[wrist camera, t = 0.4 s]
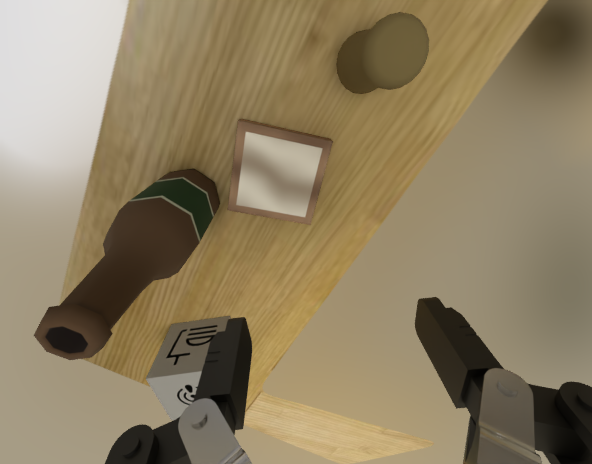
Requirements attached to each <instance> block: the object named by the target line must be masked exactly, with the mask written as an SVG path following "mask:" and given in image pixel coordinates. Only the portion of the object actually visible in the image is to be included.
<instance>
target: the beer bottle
mask: <svg viewBox="0 0 592 464" xmlns="http://www.w3.org/2000/svg"><path fill="white" fill-rule="evenodd" d="M219 204H220V202H219V199H218V195H217V191H216V187H215V184H214V182H213V181H211V180H210V179H208V178H207V177H205V176H204V175H202V174H201V173H199V172H198V171H196V170H195V169H189V170H182V171H174V172H170V173H168V174H166V175H165V176H163V177H162V178H160V179H159V180H158V181H156V182H155V183H153V184H152V185H151V186H149V187H148V188H147V189H145V190H144V191H142V192H141V193H140V194H138V195H137V196H136V197H134V198H133V199H131V200H130V201H129V202H128V203H127V204H126V205H125V206H123V207H122V208H121V209H120V210H119V212H118V214H117V216H116V218H115V220H114V221H113V223H112V225H111V227H110V229H109V231H108V233H107V234H106V237H105V240H104V243H103V246H104V251H105V256H104V257H103V258H102V259H101V260H100V262H99V263H98V264H97V265H96V266H95V267H94V268H93V269H92V270H91V271H90V273H89V274H88V275H87V276H86V277H85V278H84V279H83V280H82V281H81V283H80V284H79V285H78V286H77V287H76V288H75V289H74V290H73V291H72V292H71V294H70V295H69V296H68V297H67V298H66V299H65V300H64V301H63V302H62V303H61V305H60V306H54V307H49V308H48V310H47V312H46V313H45V315H44V317H43V319H42V320H41V322H40V324H39V326H38V328H37V330H36V332H35V334H34V336H35V338H36V339H37V340H38V341H39V343H40V344H41V345H42V346H43V348H44V349H45V350H46V351H47V352H49V353H52V354H55V355H58V356H60V357H63V358H66V359H68V360H75V359H83V358H90V357H92V356H94V355H95V354H96V353H97V352H98V351H100V350H101V349H102V348H103V347H104V346H105V344H106V342H107V341H108V339H109V338H110V336H111V335H112V332H111V328H112V327H113V326H114V325H115V323H116V322H117V321H118V320H119V319H120V317H121V316H122V315H123V314H124V313H125V311H126V310H127V309H128V308H129V306H130V305H131V304H132V303H133V302H134V300H135V299H136V298H137V297H138V295H139V294H140V293H141V292H142V291H143V290H144V289H145V288H146V287H147V286H148V285H149V284H150V283H151V282H152V281H154V280H159V279H165V278H169V277H171V276H172V275H174V274H176V273H178V272H179V270H180V269H181V268H182V266H183V265H184V264H185V262H186V261H187V259H188V258H189V257H190V255H191V254H192V252H193V251H194V249H195V248H196V247H197V245H198V244H199V242H200V240H201V239H202V237H203V235H204V233H205V231H206V229H207V228H208V226H209V224H210V222H211V220H212V218H213V217H214V215H215V213H216V211H217V209H218V207H219Z"/></svg>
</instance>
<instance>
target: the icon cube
mask: <svg viewBox="0 0 592 464" xmlns="http://www.w3.org/2000/svg"><path fill="white" fill-rule="evenodd" d="M228 319H231V318H230V316H225V317H218V318H211V319H204V320H197V321H190V322H183V323H176V324H171V327H170V329H169V331H168V333H167V335H166V337H165V339H164V341H163V344H162V346H161V348H160V350H159V352H158V354H157V356H156V358H155V360H154V363H153V365H152V367H151V369H150V371H149V373H148V375H147V377H146V380H147V381H148V383H149V385H150V386H151V388H152V389H153V391H154V393H155V394H156V396H157V398H158V399H159V401H160V403H161V404H162V406H163V407H164V409H165V411H166V412H167V414H168V415H169V417H170V419H171V420H176V419H177V418H179V417H180V416H181V415H182V413H183V412H184V410H185V409H186V408H187V407H188V406H189V405H190V404H191V403H192V402H193V400H194V397H195V394H196V390H197V387H198V383H199V380H200V376H201V373H202V369H203V365H204V364H205V358H206V355H207V351H208V348H209V344H210V341H211V340H212V339H213V337H214V336H215V335H216V333H217V332H221V331H225V329H226V325H227V321H228Z"/></svg>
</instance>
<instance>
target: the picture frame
mask: <svg viewBox="0 0 592 464" xmlns="http://www.w3.org/2000/svg"><path fill="white" fill-rule="evenodd" d="M332 143H333V141H332V140H331V139H328V138H324V137H320V136H315V135H311V134H306V133H302V132H297V131H293V130H288V129H284V128H280V127H275V126H271V125H266V124H262V123H257V122H253V121H249V120H244V119H239V120H238V126H237V135H236V143H235V152H234V161H233V169H232V178H231V186H230V195H229V204H228V210H230V211H236V212H241V213H247V214H252V215H258V216H263V217H269V218H275V219H280V220H286V221H291V222H297V223H303V224H308V225H311V221H312V218H313V214H314V210H315V206H316V203H317V199H318V195H319V191H320V188H321V184H322V180H323V176H324V173H325V169H326V165H327V161H328V158H329V154H330V150H331V146H332Z"/></svg>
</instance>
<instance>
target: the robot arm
mask: <svg viewBox="0 0 592 464" xmlns="http://www.w3.org/2000/svg"><path fill="white" fill-rule="evenodd" d="M415 328H416V332H417V335H418V337H419V339H420V341H421V343H422V345H423V347H424V349H425V350H426V352H427V354H428V356H429V358H430V360H431V362H432V364H433V365H434V367H435V369H436V371H437V373H438V375H439V377H440V378H441V381H442V382H443V384H444V386H445V388H446V390H447V392H448V394H449V396H450V397H451V399H452V401H453V403H454V405H455V407H456V408H465V407H467V409H468V411H469V413H470V414H471V416H470V420H469V426H468V433H467V440H466V446H465V453H464V460H463V464H542V461H541V457H540V456H539V455H538V454H536V452H535V450H538V451H542V452H543V453H544V454H545V455H546V457H547V458H548V460H549V462H550V463H551V464H592V387H590V386H588V385H585V384H582V383H578V382H566V383H564V384H562V386H561V387H560V389H559V390H556V389H551V388H546V387H540V386H535V385H531V384H528V383H526V382H525V381H524V380H523V379H522V378H521V377H519V376H518V375H516V374H514V373H513V372H511V371H508V370H505V369H504V368H503V367H502V366H501V365H500V363H499V362H498V361H497V360H496V358H495V357H494V356H493V354H492V353H491V352H490V351H489V349H488V348H487V347H486V345H485V344H484V343H483V342H482V340H481V339H480V338H479V336H477V335H476V332H475V331H474V330H473V329H472V328H471V327H470V325H469V323H468V322H467V321H466V320H465V318H464V317H463V316H462V315H461V314H460V313H458V312H457V311H456V310H454V309H453V308H445V307H444V305H443V304H442V302H441V301H440V300H439V299H438V298H437V297H432V298H423V299H419V300H418V305H417V312H416V319H415ZM251 357H252V341H251V337H250V333H249V329H248V326H247V322H246V319H245V317H241V318H232V319H228V321H227V325H226V329H225V331H221V332H217V333H216V335H215V336H214V337H213V339H212V340H211V341H210V344H209V348H208V351H207V355H206V358H205V364H204V365H203V369H202V373H201V376H200V380H199V383H198V387H197V390H196V394H195V397H194V400H193V402H192V403H191V404H190V405H189V406H188V407H187V408H186V409H185V410H184V412H183V413H182V415H181V416H180V417H179V418H177V419H176V420H174V421H172V422H169V423H167V424H165V425H163V426H160V427H158V428H156V429H154V430H152V429H151V428H150V427H149V426H147V425H137V426H134V427H132V428H130V429H128V430H127V431H126V432H124V433H123V434H122V435H121V436H120V437H119V438H118V439H117V441H116V442H115V443H114V445H113V446H112V448H111V450H110V453H109V455H108V457H107V460H106V462H105V464H252V463H251V461H250V459H249V458H248V456H247V454H246V453H245V451H244V450H243V449H242V448H241V446H240V445H239V443H238V441H237V440H236V438H235V436H234V434H235V430H239V429H243V425H244V416H245V408H246V399H247V391H248V382H249V374H250V365H251Z"/></svg>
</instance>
